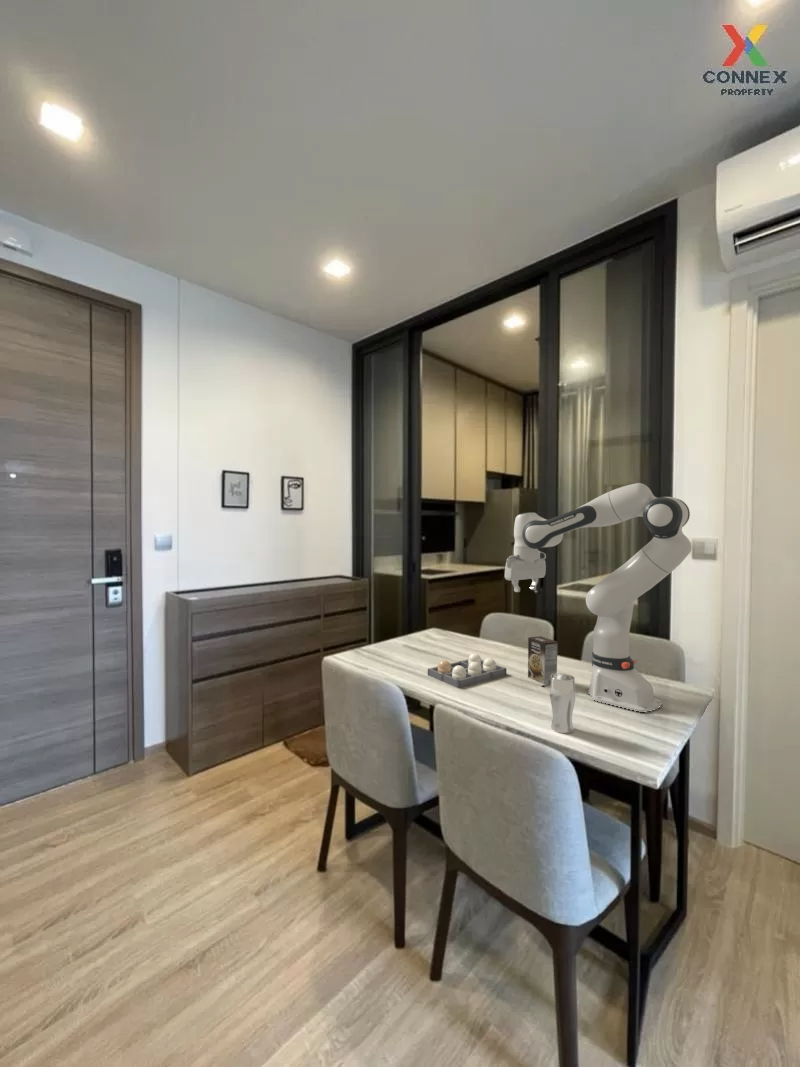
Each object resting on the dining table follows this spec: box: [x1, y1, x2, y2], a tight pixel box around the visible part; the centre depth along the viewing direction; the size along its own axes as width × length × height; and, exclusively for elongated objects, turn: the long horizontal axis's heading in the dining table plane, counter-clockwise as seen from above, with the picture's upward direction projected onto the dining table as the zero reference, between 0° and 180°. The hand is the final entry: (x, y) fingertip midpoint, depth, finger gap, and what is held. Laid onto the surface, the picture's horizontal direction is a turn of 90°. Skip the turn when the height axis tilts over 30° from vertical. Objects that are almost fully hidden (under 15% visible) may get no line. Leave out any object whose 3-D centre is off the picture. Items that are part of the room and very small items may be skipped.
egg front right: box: [483, 657, 497, 671], centre depth 178 cm, size 5×5×6 cm
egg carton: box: [427, 659, 507, 689], centre depth 176 cm, size 17×25×4 cm
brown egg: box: [437, 659, 451, 674], centre depth 175 cm, size 5×5×6 cm
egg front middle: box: [468, 662, 481, 675], centre depth 173 cm, size 5×5×6 cm
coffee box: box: [527, 636, 558, 688], centre depth 171 cm, size 9×6×16 cm
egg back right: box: [468, 652, 482, 665], centre depth 184 cm, size 5×5×6 cm
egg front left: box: [452, 665, 466, 680], centre depth 168 cm, size 5×5×6 cm
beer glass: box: [549, 672, 577, 734], centre depth 132 cm, size 7×7×15 cm
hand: (525, 590), depth 177 cm, fingers open, 8 cm apart
